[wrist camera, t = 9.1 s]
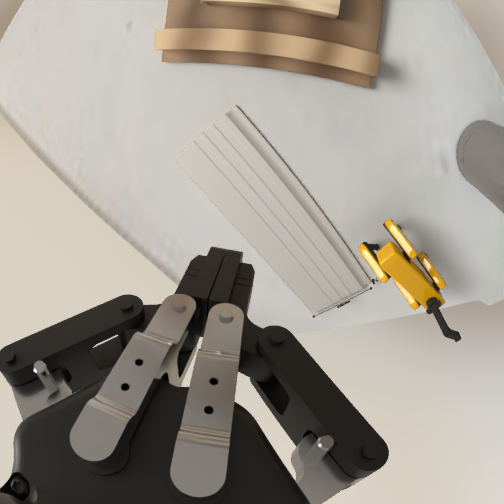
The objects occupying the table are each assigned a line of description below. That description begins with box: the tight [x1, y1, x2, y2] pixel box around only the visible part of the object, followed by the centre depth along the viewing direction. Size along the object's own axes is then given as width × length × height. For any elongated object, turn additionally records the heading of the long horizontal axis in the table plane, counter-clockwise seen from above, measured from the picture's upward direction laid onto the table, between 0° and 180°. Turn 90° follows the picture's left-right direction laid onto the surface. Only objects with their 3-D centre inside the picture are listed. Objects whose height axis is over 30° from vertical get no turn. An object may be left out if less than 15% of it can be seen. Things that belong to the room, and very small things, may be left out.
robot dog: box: [358, 219, 461, 342], centre depth 36 cm, size 6×18×13 cm, turn 54°
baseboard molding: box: [174, 105, 378, 318], centre depth 40 cm, size 31×3×12 cm
